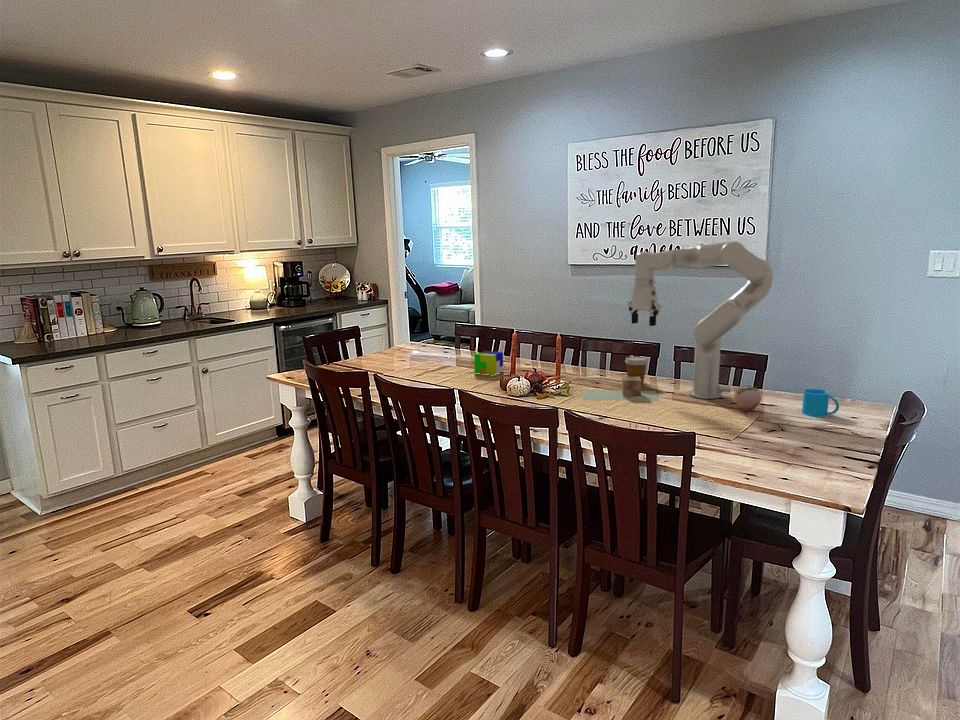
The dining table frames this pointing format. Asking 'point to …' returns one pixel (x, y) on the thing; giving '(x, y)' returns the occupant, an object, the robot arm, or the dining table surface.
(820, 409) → the mug
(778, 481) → the dining table surface
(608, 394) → the mat
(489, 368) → the puzzle toy
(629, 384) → the walnut block
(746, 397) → the decorative fruit
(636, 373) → the disposable coffee cup
